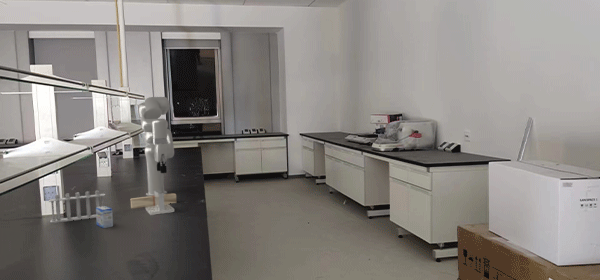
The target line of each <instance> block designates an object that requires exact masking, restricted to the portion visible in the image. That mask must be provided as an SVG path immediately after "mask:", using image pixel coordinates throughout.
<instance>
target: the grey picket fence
mask: <svg viewBox="0 0 600 280" xmlns="http://www.w3.org/2000/svg"><path fill="white" fill-rule="evenodd" d="M94 193H95V194H90V191H85V195H80V192H75V196H70V193H65V197H60V194H55V195H54V198H51V199H49V200H48V202H49V203H51V215H52V219H50V220H49V221H50V222H49V224H56V223H64V222H65V223H66V222H71V221H72V222H73V220H74V221H79V220H80V221H81V219H82V220H88V219H89V218H90V219H96V214H92V213H91V210H92V209H91V198H95V206H96V207H101V206H105V204H104V197H106V193H100V191H99V190H95V191H94ZM100 198H101V200H100ZM81 199H85V204H86V205H85V207H86V215H82V213H81V212H82V211H81V210H82V209H81ZM72 200H75V202H76V216H73V217H72V213H71V201H72ZM60 201H61V202H62V201H65V207H66V209H65V210H66V217H63V218H62V217H61V205H60V204H61V203H60ZM100 201H101V202H100ZM54 203H55V205H54ZM100 203H101V204H100ZM96 207H95V208H96ZM55 211H56V213H55ZM55 215H56V218H55ZM90 219H89V220H90Z"/></svg>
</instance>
